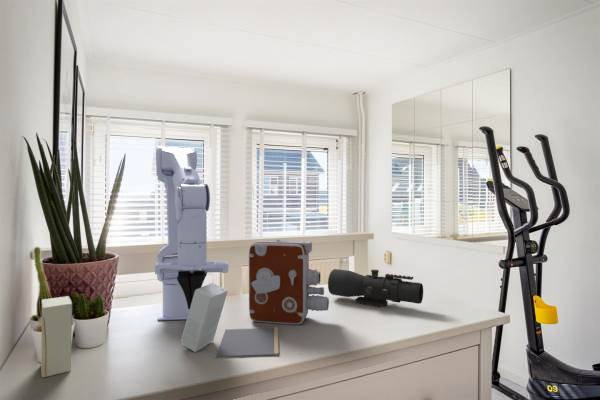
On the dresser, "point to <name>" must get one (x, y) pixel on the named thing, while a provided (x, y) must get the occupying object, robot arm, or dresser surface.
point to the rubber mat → (249, 343)
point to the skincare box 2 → (203, 316)
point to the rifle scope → (374, 288)
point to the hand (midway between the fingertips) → (192, 307)
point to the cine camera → (283, 282)
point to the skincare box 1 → (56, 336)
